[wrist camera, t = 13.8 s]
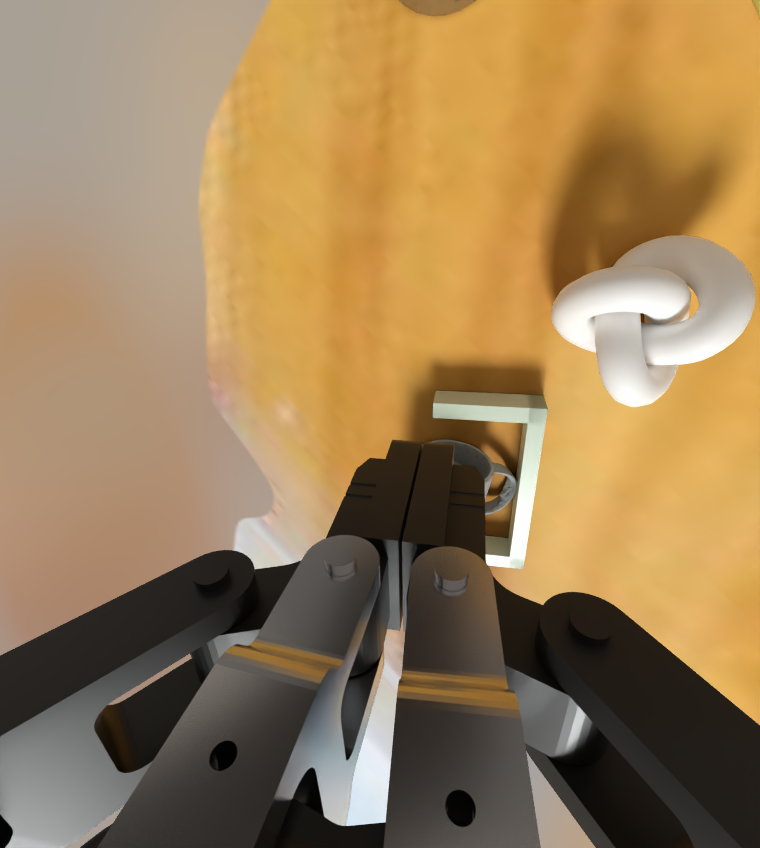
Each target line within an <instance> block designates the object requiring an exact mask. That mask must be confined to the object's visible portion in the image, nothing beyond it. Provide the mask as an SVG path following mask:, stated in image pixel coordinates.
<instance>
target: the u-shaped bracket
mask: <svg viewBox="0 0 760 848" xmlns="http://www.w3.org/2000/svg"><path fill="white" fill-rule="evenodd" d="M547 411H548V408H547V405H546V402H545V399H544V395H524V394H502V393H481V392H459V391H437V390H436V393H435V397H434V402H433V418H444V419H462V420H479V421H496V422H514V423H523V428H522V435H521V443H520V451H519V459H518V466H517V474H516V482H517V488H516V492H515V494H514V497H513V505H512V513H511V521H510V528H509V536H508V538H504V537H494V536H485V542H486V563H487V565H491V566H499V567H508V568H516V569H523V566H524V559H525V553H526V546H527V540H528V533H529V527H530V521H531V514H532V508H533V501H534V495H535V488H536V482H537V475H538V469H539V462H540V456H541V450H542V443H543V437H544V430H545V424H546V417H547Z"/></svg>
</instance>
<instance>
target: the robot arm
mask: <svg viewBox="0 0 760 848" xmlns="http://www.w3.org/2000/svg"><path fill="white" fill-rule="evenodd" d="M399 1H400V2H402V3H403V4H404V5H405V6H406V7H408V8H410V9H412V10H413V11H415V12H417V13H420V14H425V15H429V16H441V15H448V14H451V13H454V12H457V11H460V10H462V9H463V8H465V7H466V6H468V5H470V4H471V3H473V2H474V1H475V0H399ZM453 464H454V444H445V443H430V442H424V445H423V443H422V442H417V441H402V440H392V442H391V445H390V448H389V451H388V454H387V456H386V459H376V458H370V459H368V460H367V461H366V462H365V463H363V464H362V465H361V466H360V467H358V468H357V469H356V472H355V474H354V476H353V478H352V481H351V485H349V487H348V490H347V492H346V496H344V499H343V501H342V503H341V505H340V508H339V510H338V512H337V514H336V517H335V519H334V521H333V523H332V526H331V528H330V530H329V532H328V535H327V537H326V539H323V540H321V541H319V542H318V543H316V544H315V545H313V546H312V547H311V548H310V549H309V550H308V551H307V553H306V554H305V556H304V557H303V559H302V560H301V561H299V562H296V563H293V564H289V565H284V566H277V567H270V568H262V569H254V566H253V563H252V561H251V559H250V558H249V557H248V556H246V555H245V554H243V553H240V552H237V551H232V550H223V551H216V552H211V553H208V554H205V555H203V556H200V557H198V558H196V559H194V560H192V561H190V562H188V563H186V564H184V565H182V566H180V567H178V568H176V569H174V570H172V571H170V572H168V573H166V574H164V575H161V576H160V577H158V578H155V579H153V580H152V581H150V582H148V583H145V584H144V585H141V586H139V587H137V588H136V589H133V590H131V591H129V592H127V593H125V594H123V595H121V596H119V597H117V598H115V599H113V600H111V601H110V602H107V603H105V604H103V605H101V606H99V607H97V608H95V609H93V610H91V611H89V612H87V613H85V614H83V615H81V616H79V617H77V618H75V619H73V620H71V621H69V622H67V623H65V624H63V625H61V626H59V627H57V628H55V629H53V630H51V631H49V632H47V633H45V634H43V635H41V636H39V637H37V638H35V639H33V640H31V641H29V642H27V643H25V644H23V645H21V646H19V647H17V648H15V649H13V650H11V651H9V652H7V653H5V654H3V655H1V656H0V848H67V847H68V846H70V845H71V844H73V843H74V842H75V841H77V840H78V839H79V838H81V837H82V836H83V835H85V834H86V833H87V832H89V831H90V830H91V829H93V828H94V827H96V826H97V825H98V824H99V823H101V822H102V821H104V820H105V819H106V818H108V817H109V816H110V815H112V814H113V813H114V812H116V811H117V810H118V809H120V808H121V807H122V806H124V807H123V809H122V810H121V812H120V813H119V815H118V816H117V818H116V820H115V821H114V823H113V824H111V825H110V826H108V827H107V828H105V829H104V830H102V831H101V832H100V833H98V834H97V835H96V836H94V837H93V838H92V839H90V840H89V841H88V842H87V843H85V844H84V845H83V846H81V847H80V848H541V847H540V841H539V834H538V827H537V820H536V814H535V807H534V801H533V794H532V788H531V782H530V775H529V767H528V761H527V754H526V751H527V752H528V754H529V756H530V757H531V759H532V760H533V761H534V763H535V764H536V766H537V767H538V768H539V770H540V771H541V772H542V774H543V775H544V777H545V778H546V779H547V781H548V782H549V784H550V785H551V786H552V788H553V789H554V791H555V792H556V793H557V795H558V796H559V797H560V799H561V800H562V802H563V803H564V804H565V806H566V807H567V809H568V810H569V811H570V813H571V814H572V815H573V817H574V818H575V819H576V821H577V822H578V824H579V825H580V826H581V828H582V829H583V830H584V832H585V833H586V835H587V836H588V838H589V839H590V840H591V842H592V843H593V844H594V846H595V847H596V848H760V725H758V724H757V723H756V722H755V721H754V720H752V719H751V718H750V717H749V716H748V715H746V714H745V713H744V712H743V711H742V710H740V709H739V708H738V707H737V706H736V705H734V704H733V703H732V702H731V701H729V700H728V699H727V698H726V697H725V696H723V695H722V694H721V693H720V692H719V691H717V690H716V689H715V688H714V687H713V686H711V685H710V684H709V683H708V682H707V681H705V680H704V679H703V678H702V677H701V676H699V675H698V674H697V673H696V672H695V671H693V670H692V669H691V668H690V667H688V666H687V665H686V664H685V663H684V662H682V661H681V660H680V659H679V658H678V657H676V656H675V655H674V654H673V653H672V652H670V651H669V650H668V649H667V648H666V647H664V646H663V645H662V644H661V643H660V642H658V641H657V640H656V639H655V638H654V637H652V636H651V635H650V634H649V633H648V632H646V631H645V630H644V629H643V628H641V627H640V626H639V625H638V624H637V623H635V622H634V621H633V620H632V619H631V618H629V617H628V616H627V615H626V614H625V613H623V612H622V611H621V610H620V609H618V608H617V607H616V606H614V605H612V604H611V603H609V602H607V601H605V600H603V599H601V598H599V597H596V596H593V595H590V594H585V593H579V592H566V593H561V594H558V595H555V596H553V597H551V598H550V599H548V600H547V601H546V602H545V603H544V605H541V604H538V603H536V602H533V601H531V600H528V599H526V598H523V597H521V596H519V595H516V594H514V593H512V592H511V591H509V590H507V589H506V588H505V587H503V586H502V585H501V584H500V583H499V582H498V581H497V580H496V579H495V578H494V577H493V575H492V572H491V570H490V568H489V566H488V565H487V563H486V542H485V479H484V478H483V477H482V475H481V474H480V472H479V471H478V469H477V468H476V467H475V466H465V465H453ZM402 617H403V631H404V632H405V643H404V655H403V667H402V677H401V679H400V680H399V685H398V692H397V702H396V713H395V724H394V735H393V747H392V758H391V769H390V780H389V792H388V803H387V814H386V823H375V824H365V825H355V826H346V821H347V816H348V811H349V805H350V797H351V787H352V781H353V775H354V771H355V766H356V763H357V759H358V756H359V752H360V749H361V745H362V742H363V738H364V735H365V731H366V728H367V724H368V721H369V717H370V714H371V710H372V707H373V703H374V700H375V696H376V693H377V689H378V686H379V682H380V679H381V675H382V672H383V668H384V641H385V636H386V631H387V629H392V630H399V631H400V628H401V622H402ZM188 654H190V655H191V657H192V659H190V660H189V661H187V662H185V663H184V664H182V665H180V666H179V667H177V668H176V669H174V670H172V671H171V672H169V673H168V674H166V675H164V676H163V677H161V678H160V679H158V680H156V681H155V682H153V683H151V684H150V685H148V686H147V687H145V688H143V689H142V690H140V691H139V692H137V693H135V694H134V695H132V696H131V697H129V698H127V699H126V700H124V701H122V702H120V703H117V704H114V705H108V704H109V703H111V702H112V701H113V700H115V699H116V698H118V697H120V696H121V695H123V694H125V693H126V692H128V691H129V690H131V689H132V688H134V687H136V686H138V685H139V684H141V683H142V682H144V681H146V680H147V679H149V678H151V677H152V676H154V675H155V674H157V673H159V672H160V671H162V670H163V669H165V668H167V667H168V666H170V665H172V664H173V663H175V662H177V661H178V660H180V659H181V658H183V657H185V656H186V655H188Z"/></svg>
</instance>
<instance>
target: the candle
mask: <svg viewBox="0 0 760 848" xmlns="http://www.w3.org/2000/svg"><path fill="white" fill-rule="evenodd" d="M752 1H753V4H754V6H755V9H756V11H757V14H758V16H759V19H760V0H752Z"/></svg>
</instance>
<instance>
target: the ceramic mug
mask: <svg viewBox="0 0 760 848" xmlns="http://www.w3.org/2000/svg"><path fill="white" fill-rule="evenodd" d="M430 443H445V444H454V464H453V465H465V466H475V467H476V468H477V469H478V471H479V472H480V474H481V475H482V477H483V478H484V479H485V498H486V495H487V493H488V490H489V487H490V484H491V481H492V478H493V474H494V473H498V474H502V475H505V476H507V480H506V483H505V485H504V487H503V489H502V491H501V492H500V495H499V496H498V497H497V498H495V499H493V500H492V501H489V502H486V503H485V515H487V514H492V513H494V512H497V511H499V510H501V509H502V508H504V507H505V506H506V505H507V504H508V503H509V502H510V501H511V499H512V498H513V496H514V494H515V492H516V488H517V482H516V478H515V477H514V476H513V474H512V473H511V472H510V470H509V469H508V468H507V467H505V466H504V465H501V464H498V463H493V462H492V461H491V460H490V458H489V457H488V456H487V455H486V454H485V453H484V452H482V451H481V450H479V449H478V448H476V447H474V446H472V445H469V444H467V443H463V442H459V441H454V440H435V441H430ZM423 445H424V444H423Z"/></svg>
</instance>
